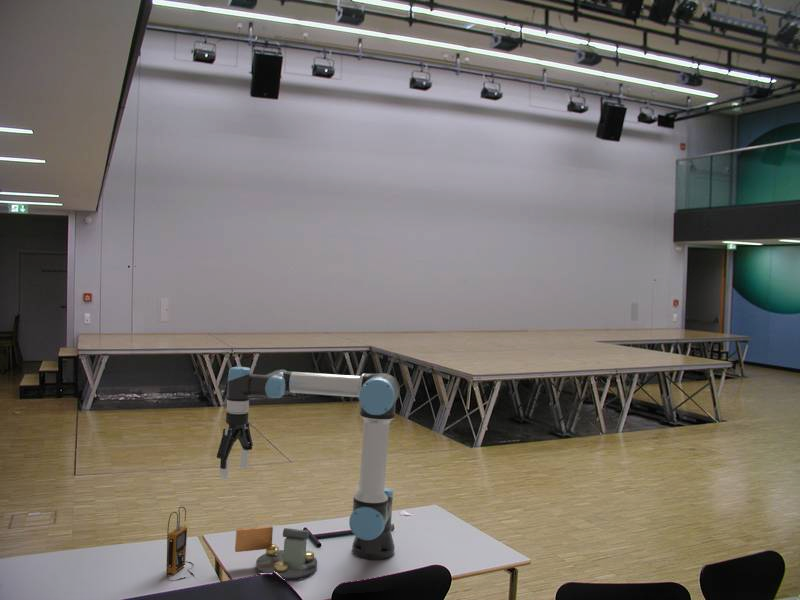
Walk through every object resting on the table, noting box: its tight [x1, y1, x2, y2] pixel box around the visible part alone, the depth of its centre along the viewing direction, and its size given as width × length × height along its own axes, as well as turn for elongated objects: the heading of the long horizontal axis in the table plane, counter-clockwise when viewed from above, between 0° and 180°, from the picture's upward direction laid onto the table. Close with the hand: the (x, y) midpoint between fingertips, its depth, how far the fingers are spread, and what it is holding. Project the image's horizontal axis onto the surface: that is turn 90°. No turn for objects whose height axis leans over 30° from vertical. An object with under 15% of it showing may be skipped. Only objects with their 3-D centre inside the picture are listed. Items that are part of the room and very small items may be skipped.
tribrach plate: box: [255, 549, 318, 582], centre depth 233 cm, size 20×20×4 cm
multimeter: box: [166, 506, 188, 578], centre depth 225 cm, size 15×10×20 cm
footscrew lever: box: [234, 525, 280, 557], centre depth 235 cm, size 15×4×10 cm, turn 114°
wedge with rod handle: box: [282, 527, 310, 570], centre depth 230 cm, size 8×6×12 cm
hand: (234, 472), depth 243 cm, fingers open, 13 cm apart
